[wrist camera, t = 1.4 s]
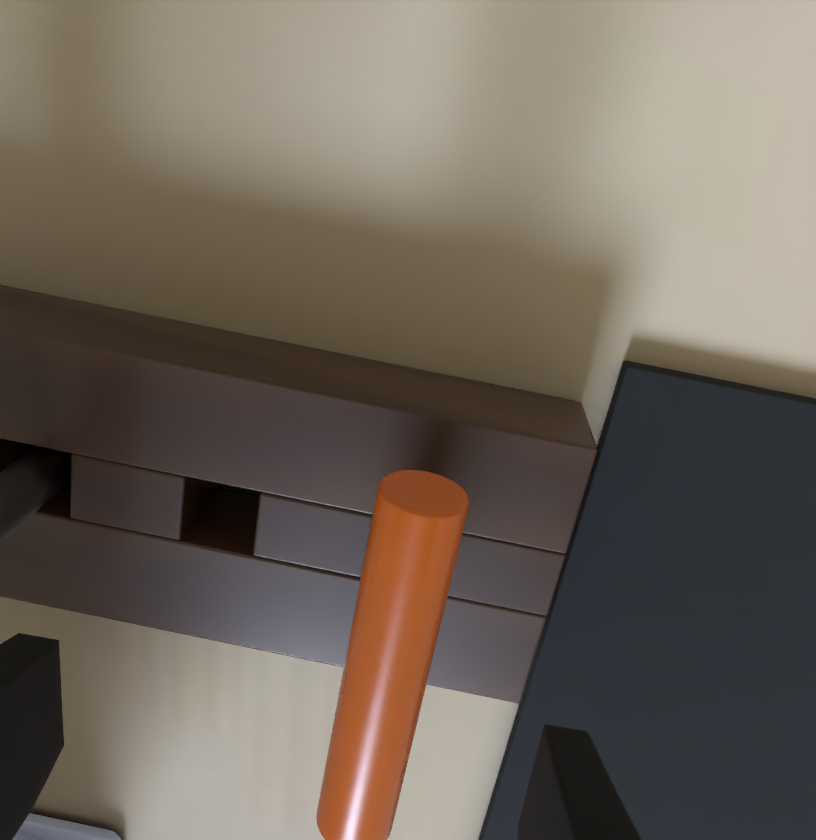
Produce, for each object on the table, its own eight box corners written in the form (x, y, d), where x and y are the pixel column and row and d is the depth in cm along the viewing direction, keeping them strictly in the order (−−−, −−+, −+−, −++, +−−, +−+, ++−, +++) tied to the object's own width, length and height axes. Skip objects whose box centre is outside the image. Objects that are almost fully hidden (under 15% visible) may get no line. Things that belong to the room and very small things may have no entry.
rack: (515, 632, 23) (520, 705, 20) (-34, 519, 23) (-105, 576, 20) (582, 401, 20) (598, 448, 17) (-45, 275, 20) (-128, 302, 18)
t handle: (417, 620, 23) (387, 864, 16) (364, 610, 23) (308, 847, 16) (474, 368, 20) (469, 521, 13) (413, 356, 20) (373, 502, 13)
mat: (772, 962, 27) (777, 977, 27) (461, 897, 27) (460, 911, 27) (1057, 446, 19) (1071, 454, 19) (623, 359, 20) (626, 365, 19)
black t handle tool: (113, 558, 23) (-60, 770, 16) (61, 547, 23) (-136, 754, 16) (124, 298, 20) (-84, 408, 13) (63, 286, 20) (-179, 390, 13)
